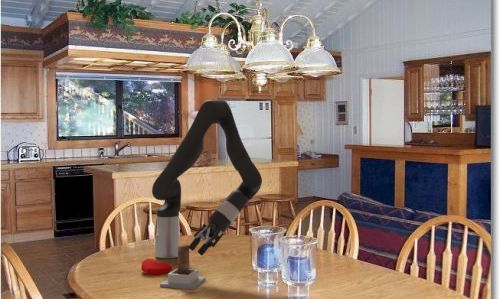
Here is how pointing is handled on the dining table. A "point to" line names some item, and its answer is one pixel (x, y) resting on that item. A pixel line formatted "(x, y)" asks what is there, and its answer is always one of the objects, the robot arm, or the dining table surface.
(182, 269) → the dark brown block
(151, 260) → the heart
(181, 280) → the gray flanged square socket
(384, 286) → the dining table surface
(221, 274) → the dining table surface
